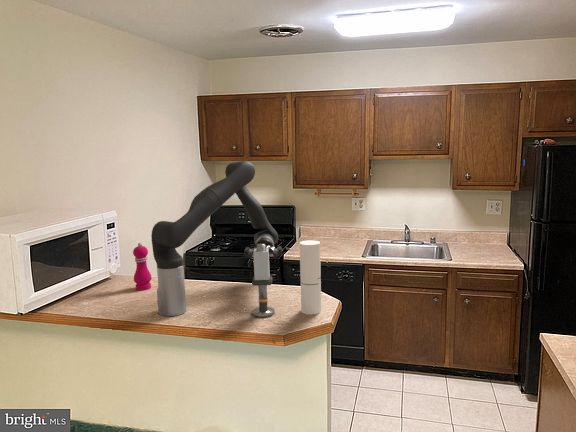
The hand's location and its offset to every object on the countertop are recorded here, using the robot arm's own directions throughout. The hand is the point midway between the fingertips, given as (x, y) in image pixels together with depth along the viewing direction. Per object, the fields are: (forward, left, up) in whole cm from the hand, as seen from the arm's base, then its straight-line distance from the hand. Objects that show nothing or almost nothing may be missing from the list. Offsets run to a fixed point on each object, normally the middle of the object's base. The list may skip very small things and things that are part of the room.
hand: (262, 256), depth 164 cm
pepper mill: (-53, +25, -19) cm, 62 cm away
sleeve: (0, -8, -6) cm, 10 cm away
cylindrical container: (+17, -7, -19) cm, 27 cm away
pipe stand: (0, -8, -19) cm, 20 cm away
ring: (0, -8, -7) cm, 10 cm away
